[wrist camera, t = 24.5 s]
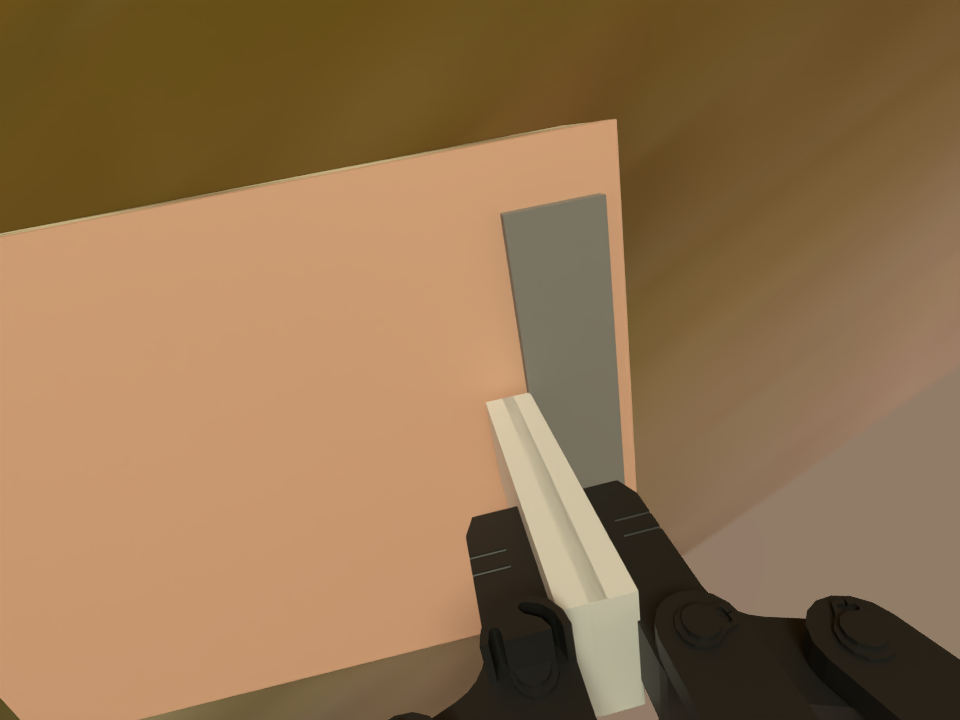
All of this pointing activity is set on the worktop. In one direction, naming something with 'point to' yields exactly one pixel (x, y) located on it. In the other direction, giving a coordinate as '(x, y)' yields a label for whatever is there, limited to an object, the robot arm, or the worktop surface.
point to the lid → (291, 416)
